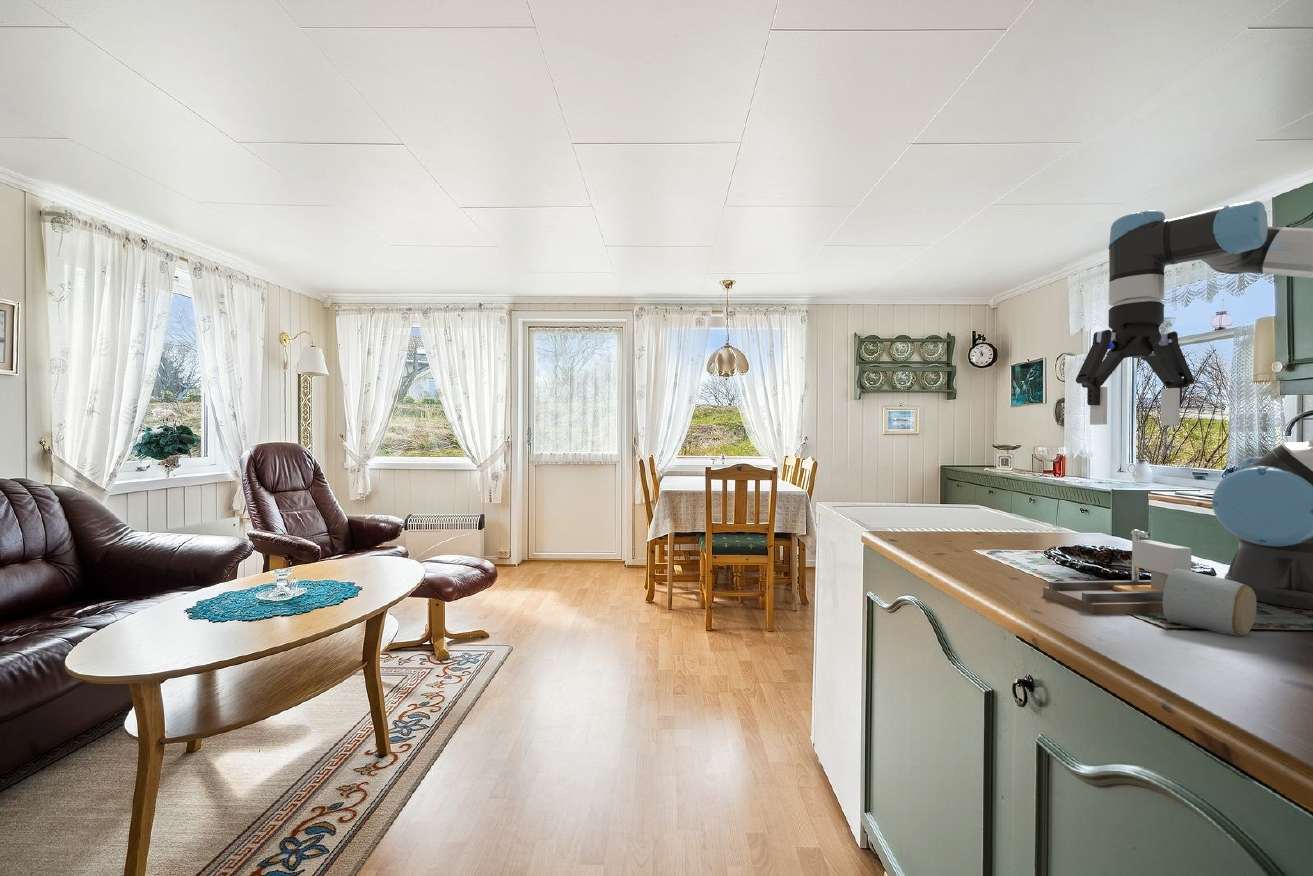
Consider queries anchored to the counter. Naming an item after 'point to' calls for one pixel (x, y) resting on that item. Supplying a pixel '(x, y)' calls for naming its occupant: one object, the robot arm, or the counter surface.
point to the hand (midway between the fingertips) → (1134, 425)
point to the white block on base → (1157, 563)
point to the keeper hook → (1135, 536)
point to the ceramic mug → (1209, 602)
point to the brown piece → (1105, 597)
